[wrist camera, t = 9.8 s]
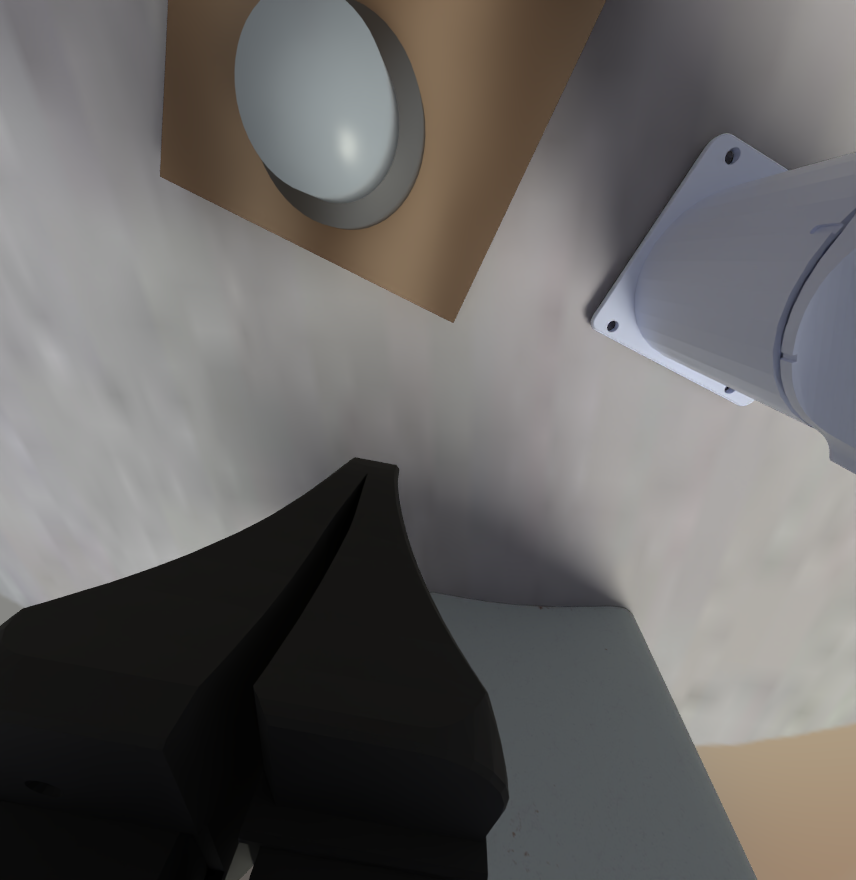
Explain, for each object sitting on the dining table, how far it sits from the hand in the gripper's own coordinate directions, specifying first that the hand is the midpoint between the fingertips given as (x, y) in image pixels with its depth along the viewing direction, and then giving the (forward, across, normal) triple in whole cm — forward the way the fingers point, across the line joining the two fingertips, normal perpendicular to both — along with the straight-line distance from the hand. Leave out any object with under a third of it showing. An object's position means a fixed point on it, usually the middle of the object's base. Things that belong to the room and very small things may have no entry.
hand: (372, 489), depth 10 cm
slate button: (+8, +4, -10) cm, 13 cm away
